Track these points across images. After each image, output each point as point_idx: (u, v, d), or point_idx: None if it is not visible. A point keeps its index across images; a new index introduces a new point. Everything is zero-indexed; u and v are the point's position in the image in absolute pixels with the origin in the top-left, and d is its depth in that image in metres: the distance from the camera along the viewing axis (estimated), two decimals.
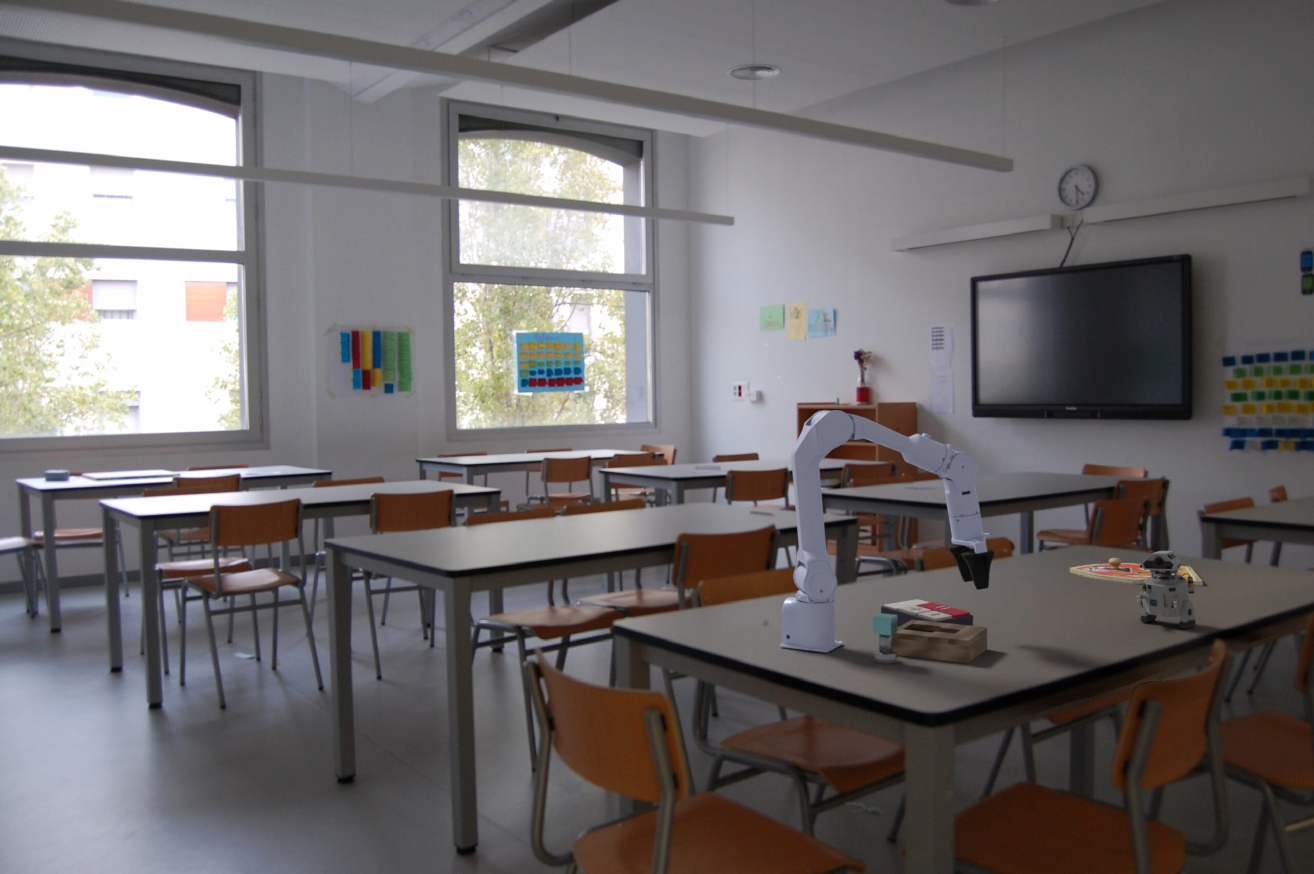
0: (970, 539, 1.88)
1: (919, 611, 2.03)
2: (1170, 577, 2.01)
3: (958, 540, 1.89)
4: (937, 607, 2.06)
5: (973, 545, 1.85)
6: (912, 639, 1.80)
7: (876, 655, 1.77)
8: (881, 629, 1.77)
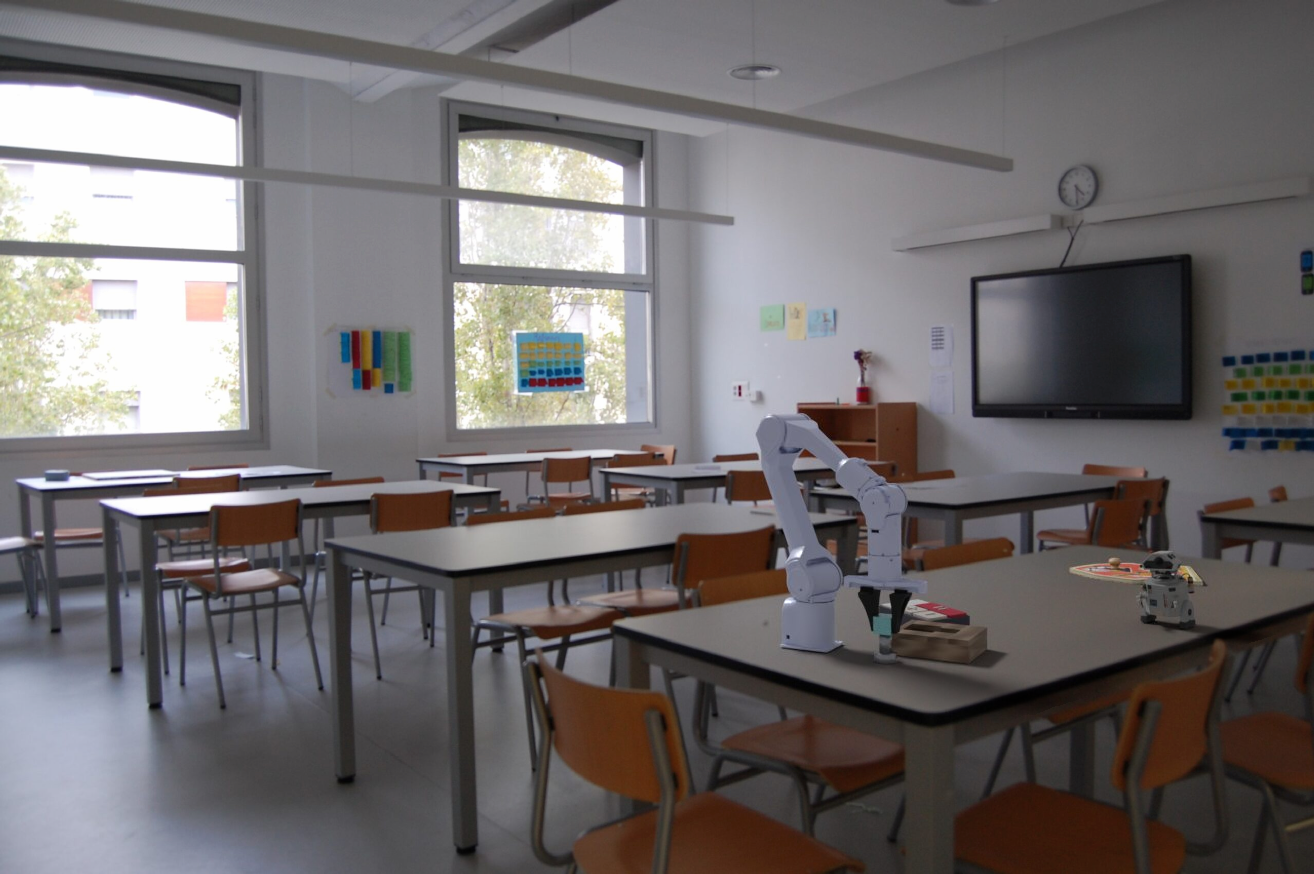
0: None
1: (915, 611, 2.04)
2: (1170, 577, 2.01)
3: None
4: (934, 607, 2.06)
5: None
6: (912, 639, 1.80)
7: (876, 655, 1.77)
8: (881, 629, 1.77)
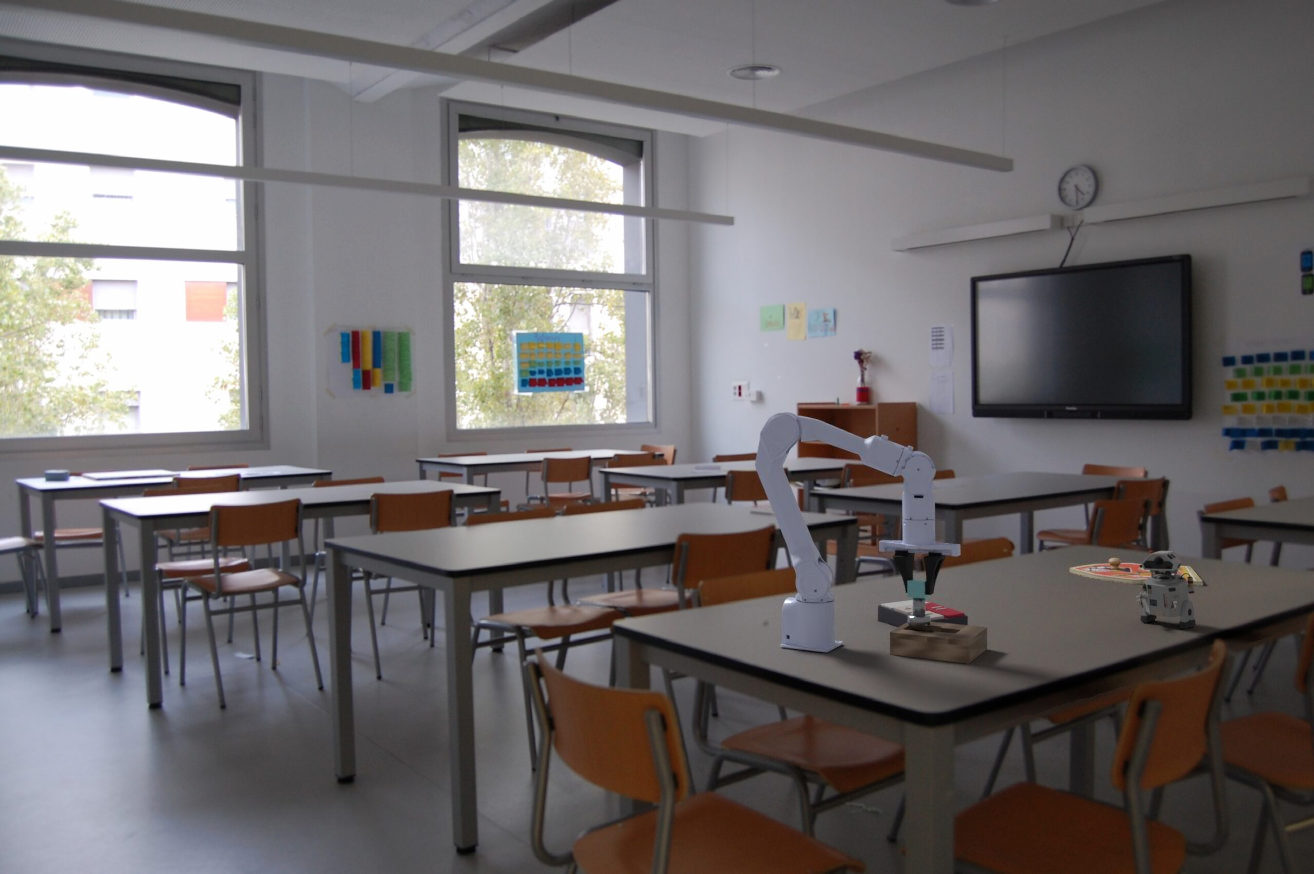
0: None
1: (912, 611, 2.04)
2: (1170, 577, 2.01)
3: None
4: (933, 607, 2.06)
5: None
6: (912, 639, 1.80)
7: (910, 618, 1.84)
8: (915, 593, 1.83)
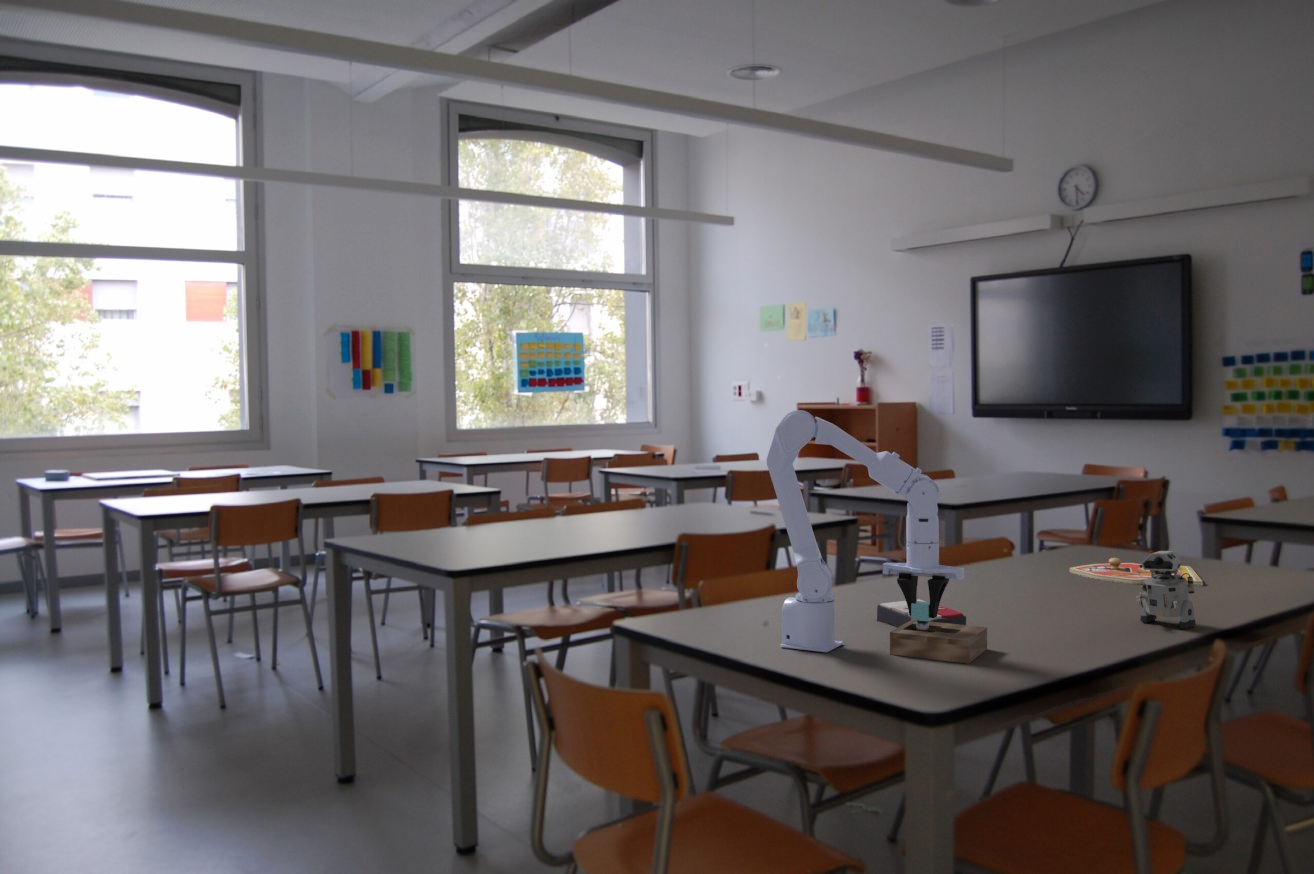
0: None
1: None
2: (1170, 577, 2.01)
3: None
4: None
5: None
6: (912, 639, 1.80)
7: None
8: (919, 616, 1.84)
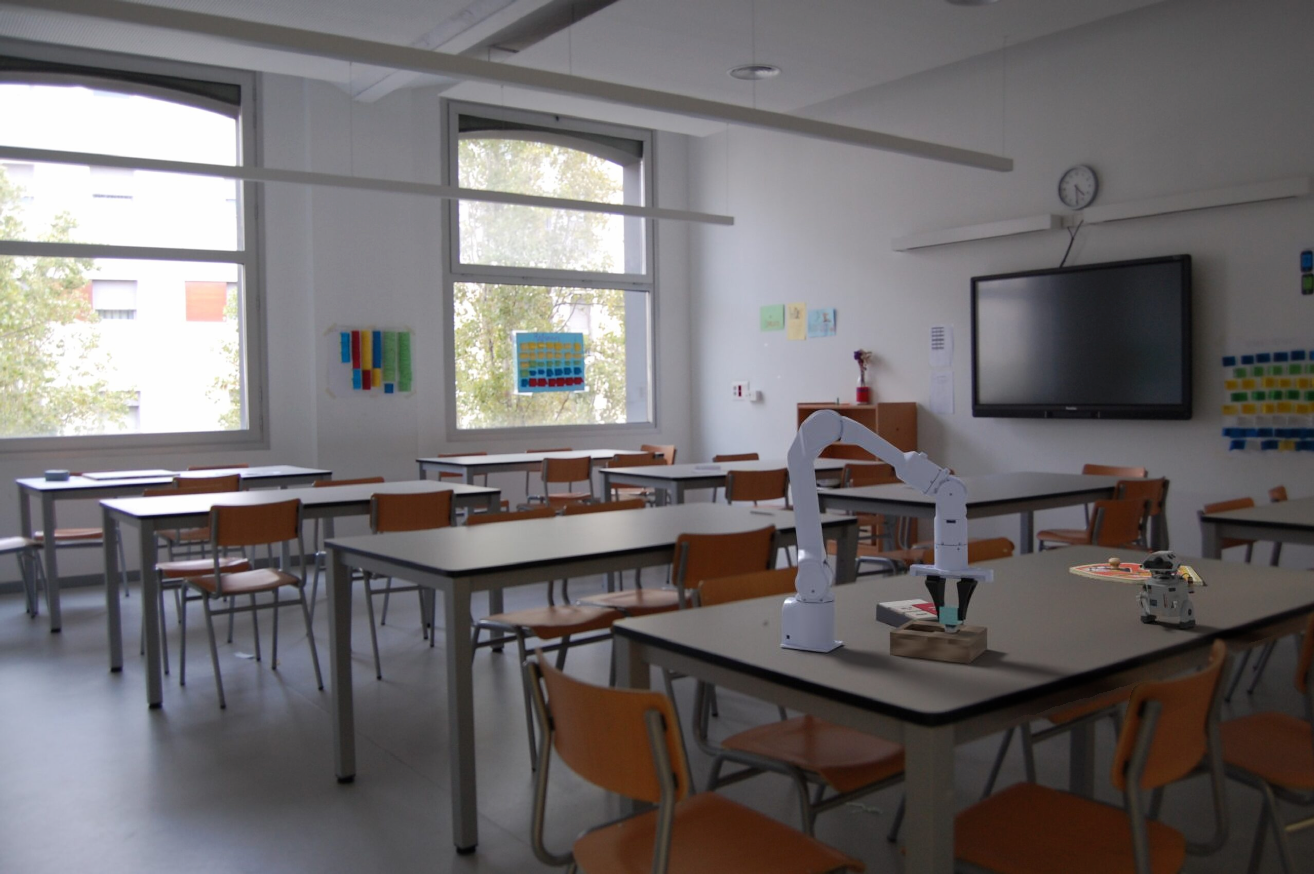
0: None
1: (908, 610, 2.04)
2: (1170, 577, 2.01)
3: None
4: (929, 607, 2.06)
5: None
6: (912, 639, 1.80)
7: None
8: (948, 619, 1.82)
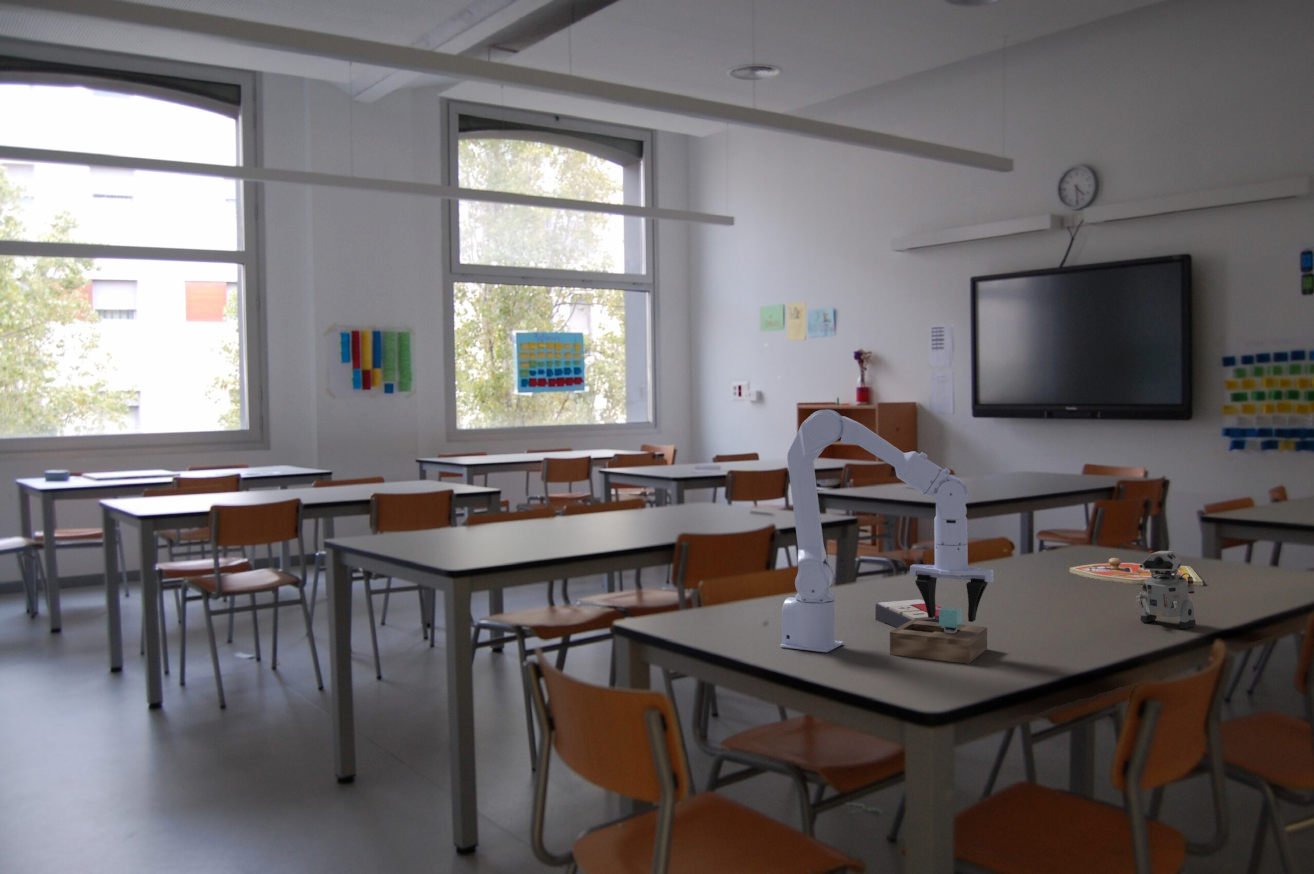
0: None
1: (905, 610, 2.04)
2: (1170, 577, 2.01)
3: None
4: None
5: None
6: (912, 639, 1.80)
7: None
8: (947, 622, 1.81)
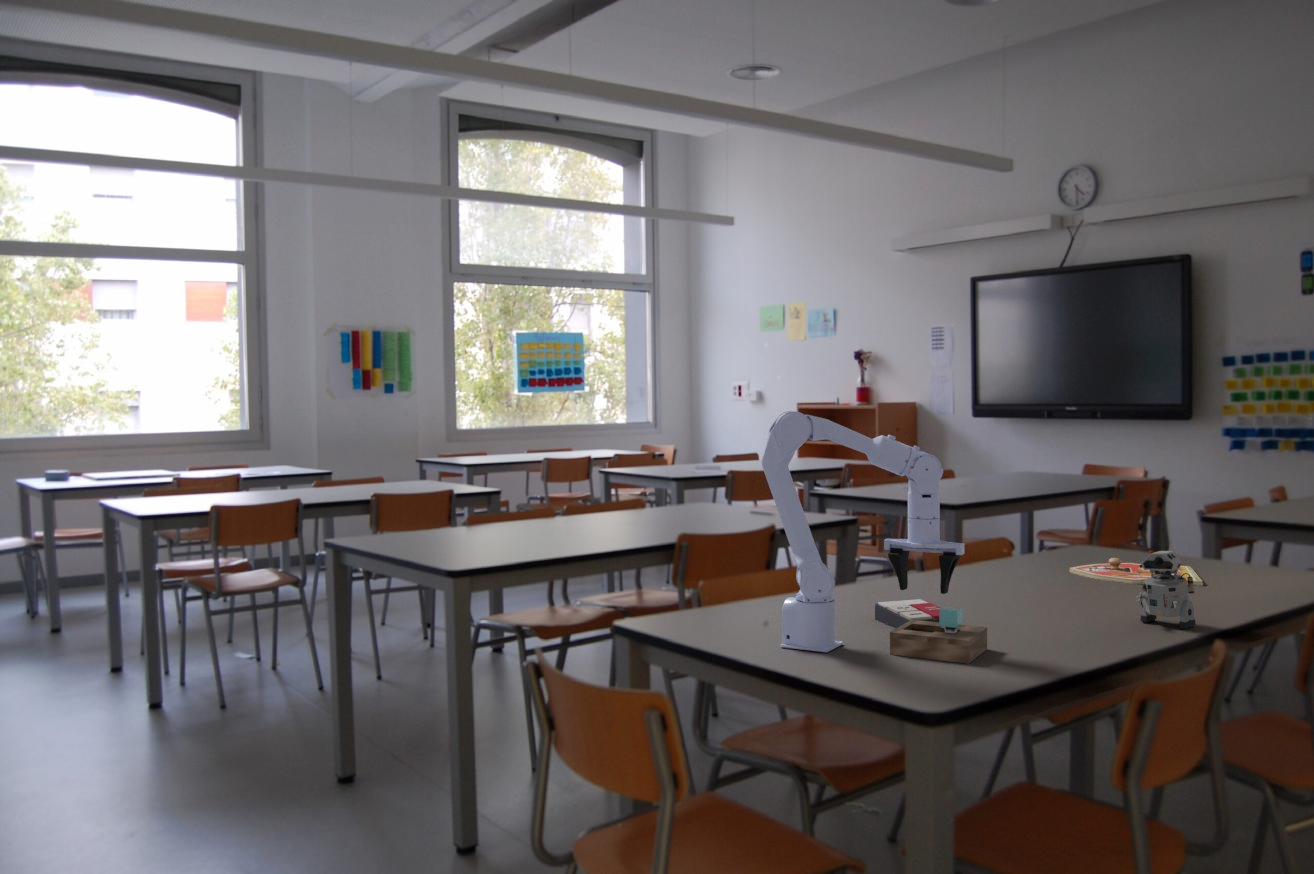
0: None
1: (903, 610, 2.05)
2: (1170, 577, 2.01)
3: None
4: (926, 607, 2.06)
5: None
6: (912, 639, 1.80)
7: None
8: (948, 622, 1.81)
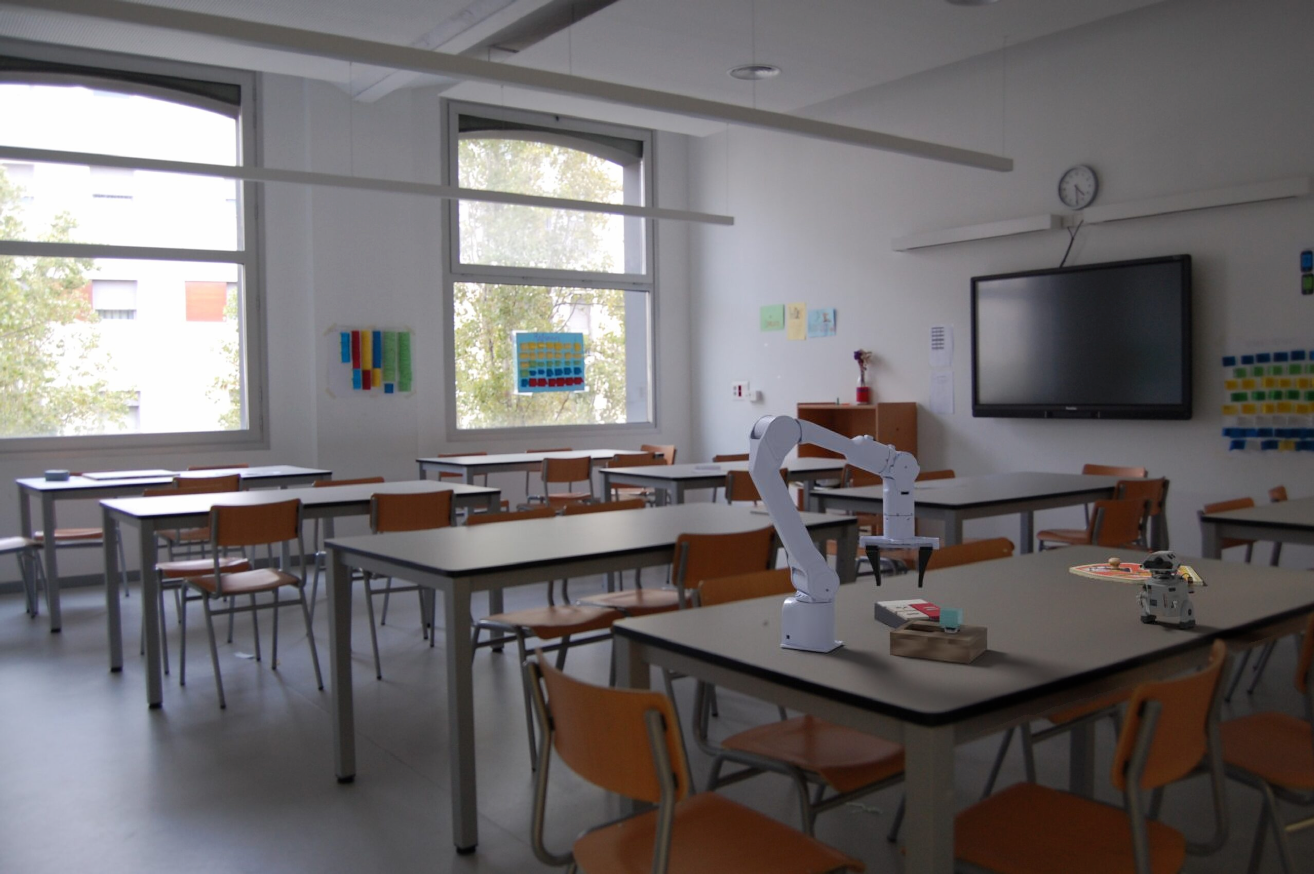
0: None
1: (901, 610, 2.05)
2: (1170, 577, 2.01)
3: None
4: (924, 607, 2.06)
5: None
6: (912, 639, 1.80)
7: None
8: (948, 622, 1.81)
